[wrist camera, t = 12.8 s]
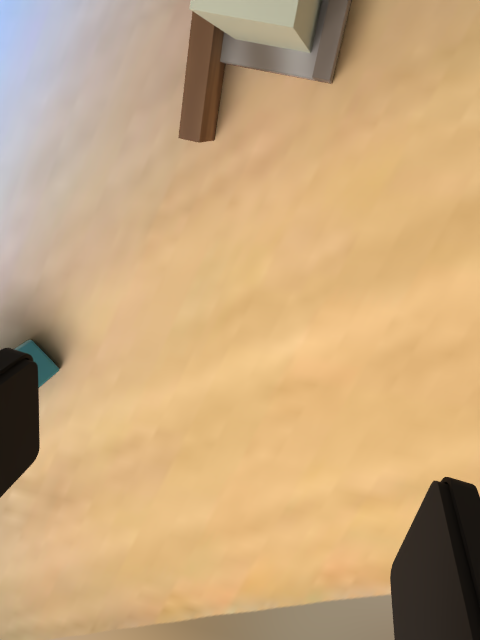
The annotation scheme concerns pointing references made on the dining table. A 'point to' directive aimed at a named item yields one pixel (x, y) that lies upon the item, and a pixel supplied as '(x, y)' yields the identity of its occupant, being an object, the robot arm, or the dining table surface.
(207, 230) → the dining table surface
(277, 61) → the board
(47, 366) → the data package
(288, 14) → the slotted sage box
